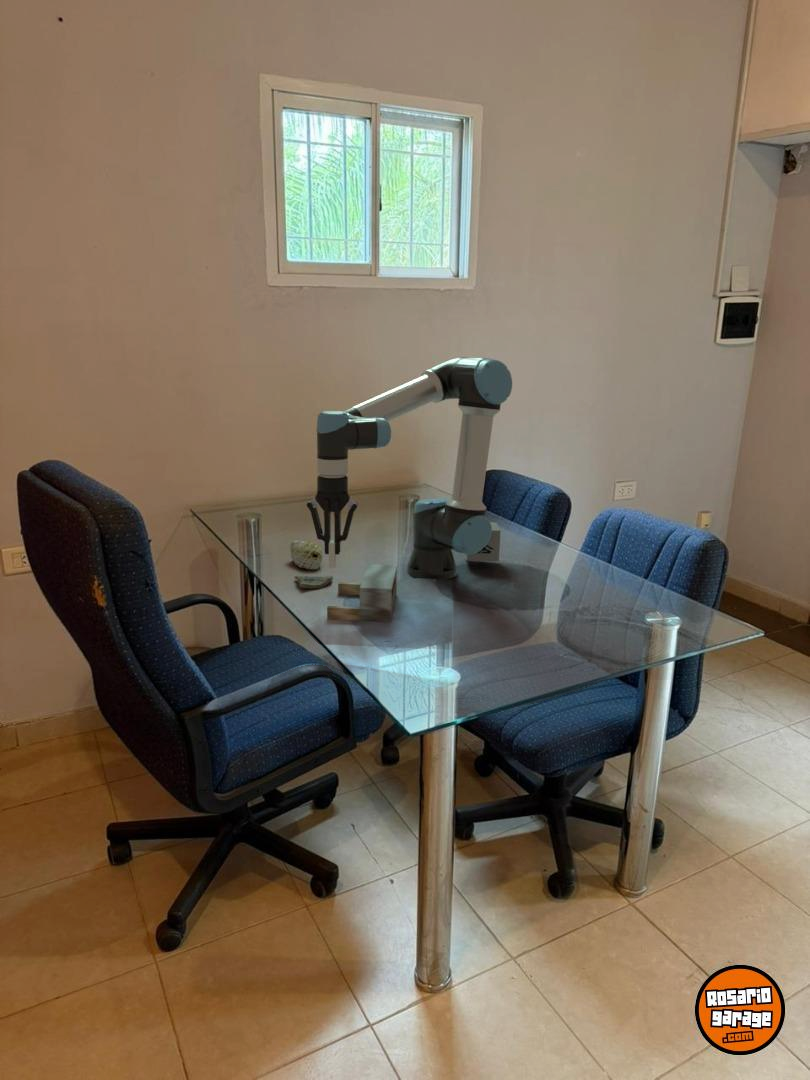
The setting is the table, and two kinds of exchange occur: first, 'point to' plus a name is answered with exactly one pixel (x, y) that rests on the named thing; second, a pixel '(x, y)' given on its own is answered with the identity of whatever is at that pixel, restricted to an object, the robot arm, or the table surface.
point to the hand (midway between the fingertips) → (332, 566)
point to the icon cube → (488, 547)
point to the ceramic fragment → (313, 581)
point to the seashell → (306, 554)
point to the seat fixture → (369, 595)
